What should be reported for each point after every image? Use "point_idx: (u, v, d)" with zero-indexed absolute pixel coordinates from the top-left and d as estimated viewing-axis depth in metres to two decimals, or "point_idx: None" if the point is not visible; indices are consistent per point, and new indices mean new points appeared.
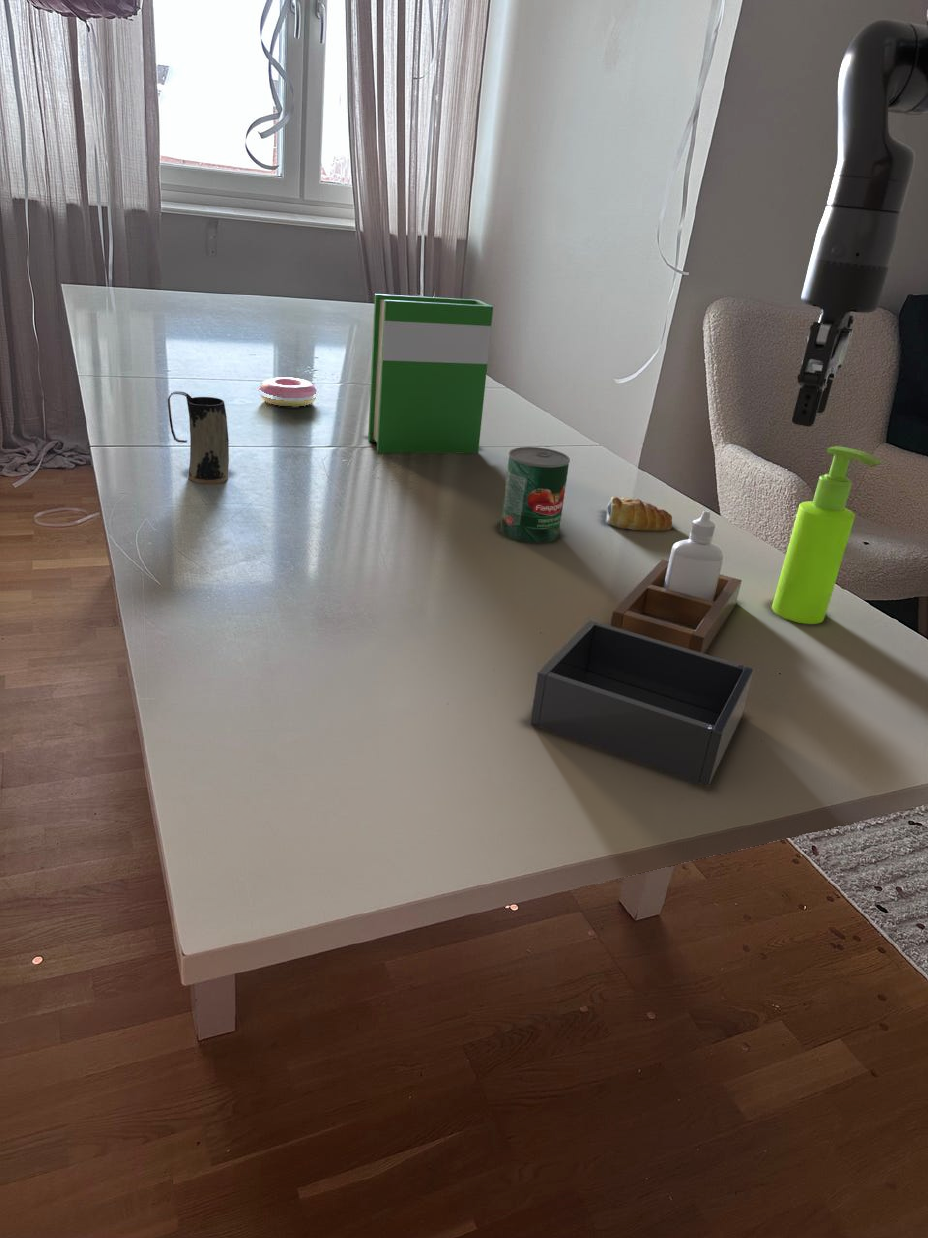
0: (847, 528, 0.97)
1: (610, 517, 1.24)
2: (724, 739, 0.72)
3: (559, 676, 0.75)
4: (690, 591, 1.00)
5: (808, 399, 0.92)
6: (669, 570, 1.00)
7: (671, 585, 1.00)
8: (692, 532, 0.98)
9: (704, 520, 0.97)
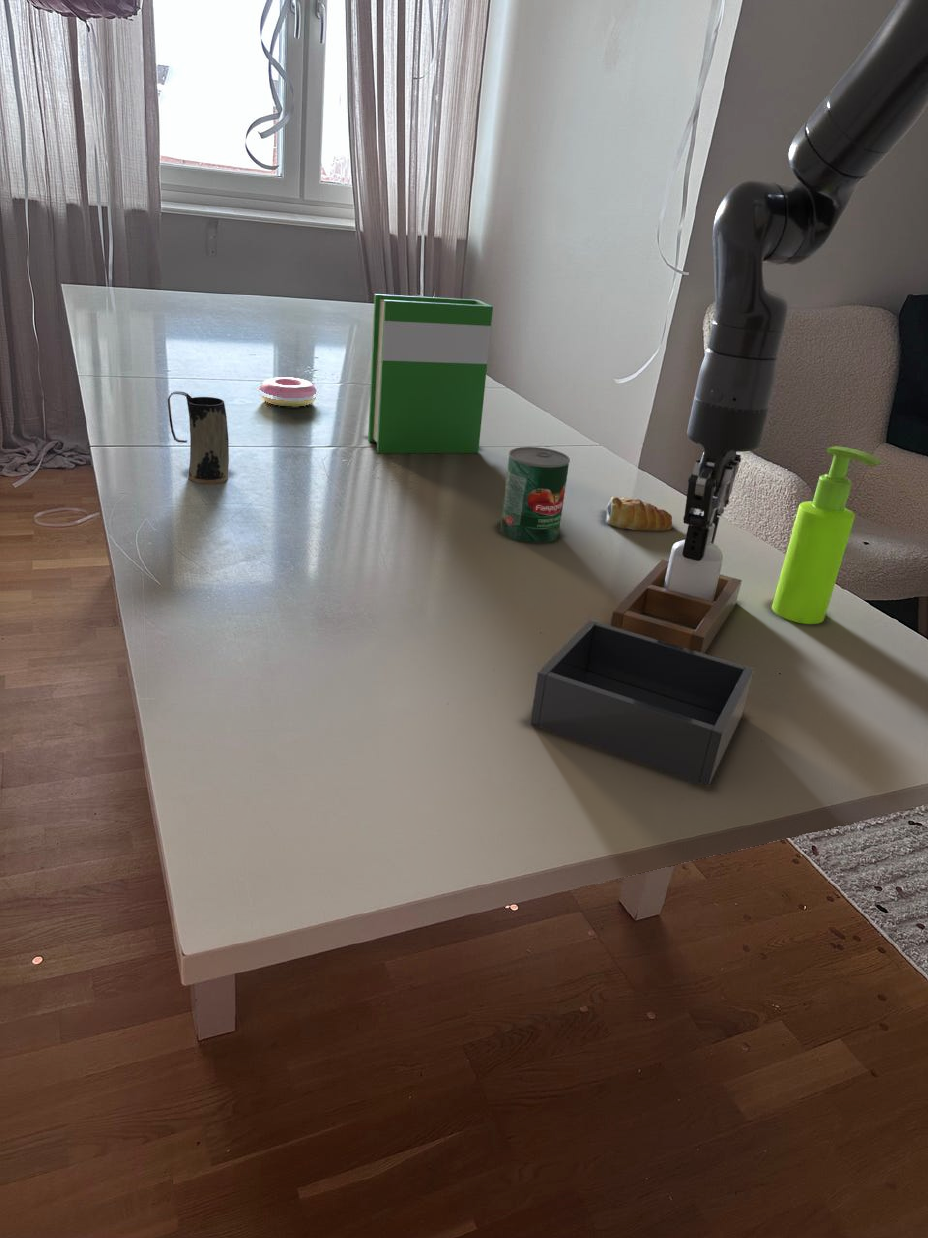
0: (847, 528, 0.97)
1: (610, 517, 1.24)
2: (724, 739, 0.72)
3: (559, 676, 0.75)
4: (690, 592, 1.00)
5: (696, 537, 0.96)
6: (669, 570, 1.00)
7: (671, 585, 1.00)
8: None
9: None
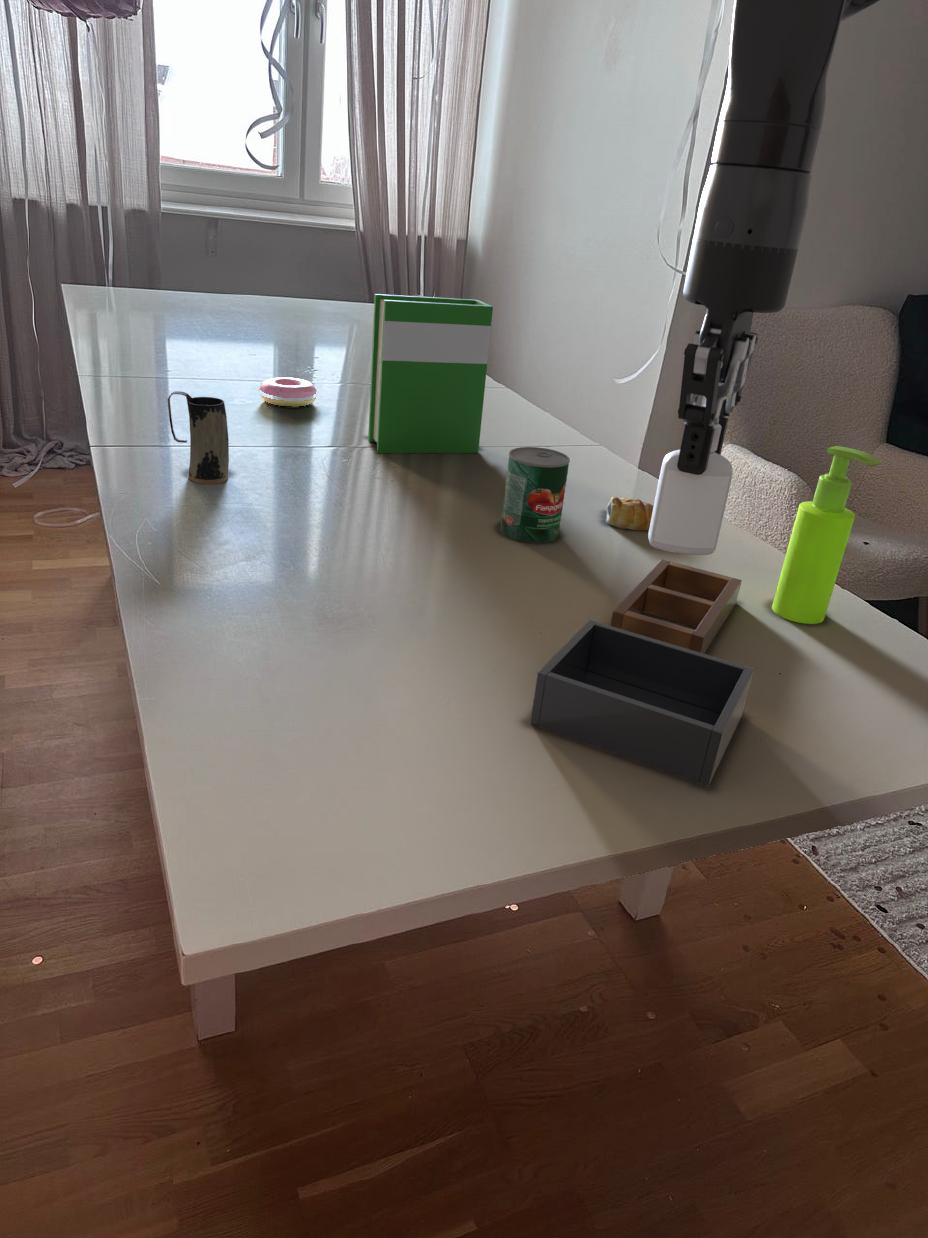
0: (847, 528, 0.97)
1: (610, 517, 1.24)
2: (724, 739, 0.72)
3: (559, 676, 0.75)
4: (687, 520, 0.73)
5: (696, 440, 0.69)
6: (659, 491, 0.73)
7: (662, 512, 0.74)
8: None
9: None
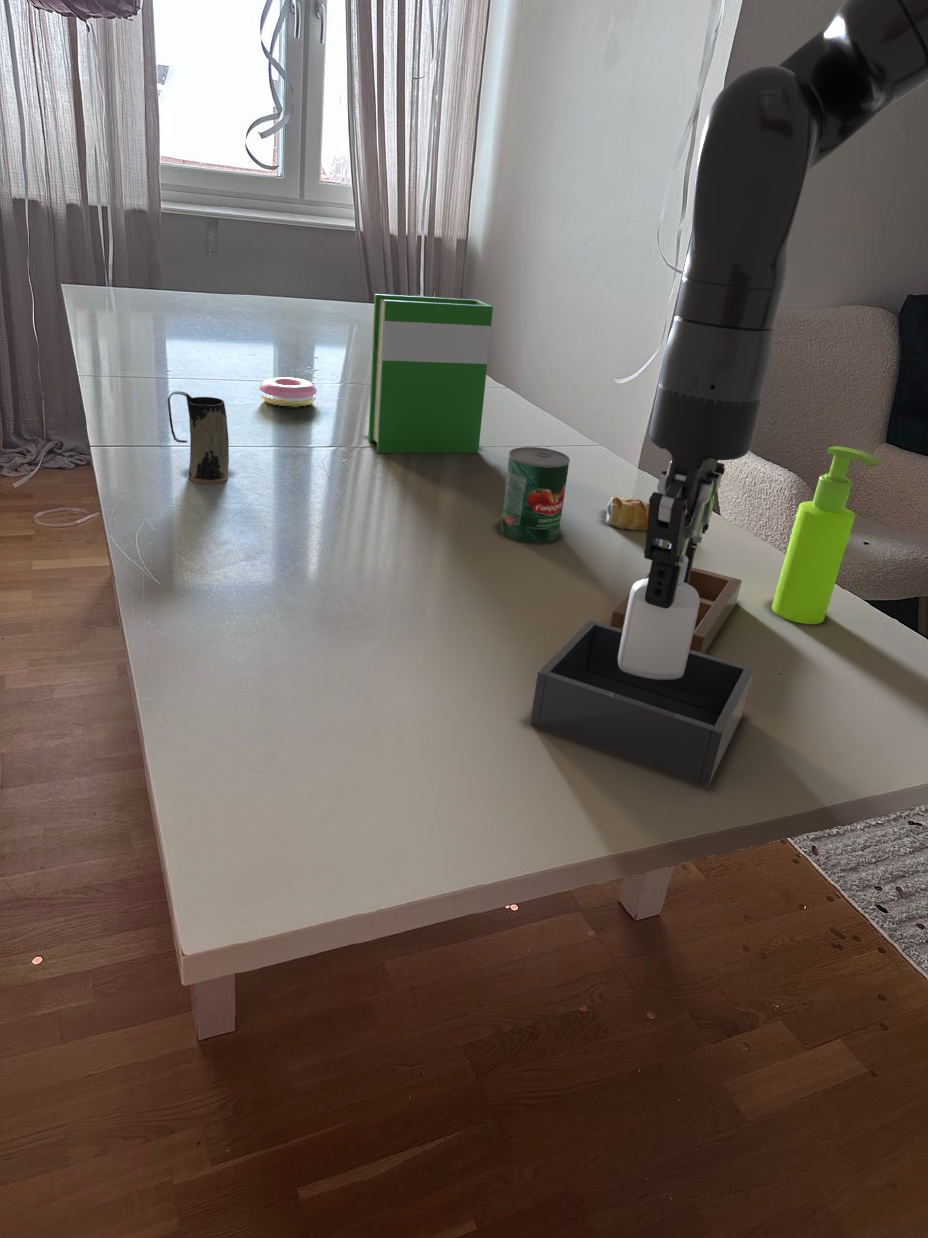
0: (847, 528, 0.97)
1: (610, 517, 1.24)
2: (724, 739, 0.72)
3: (559, 676, 0.75)
4: (655, 648, 0.74)
5: (662, 577, 0.70)
6: (627, 619, 0.74)
7: (630, 639, 0.74)
8: None
9: None
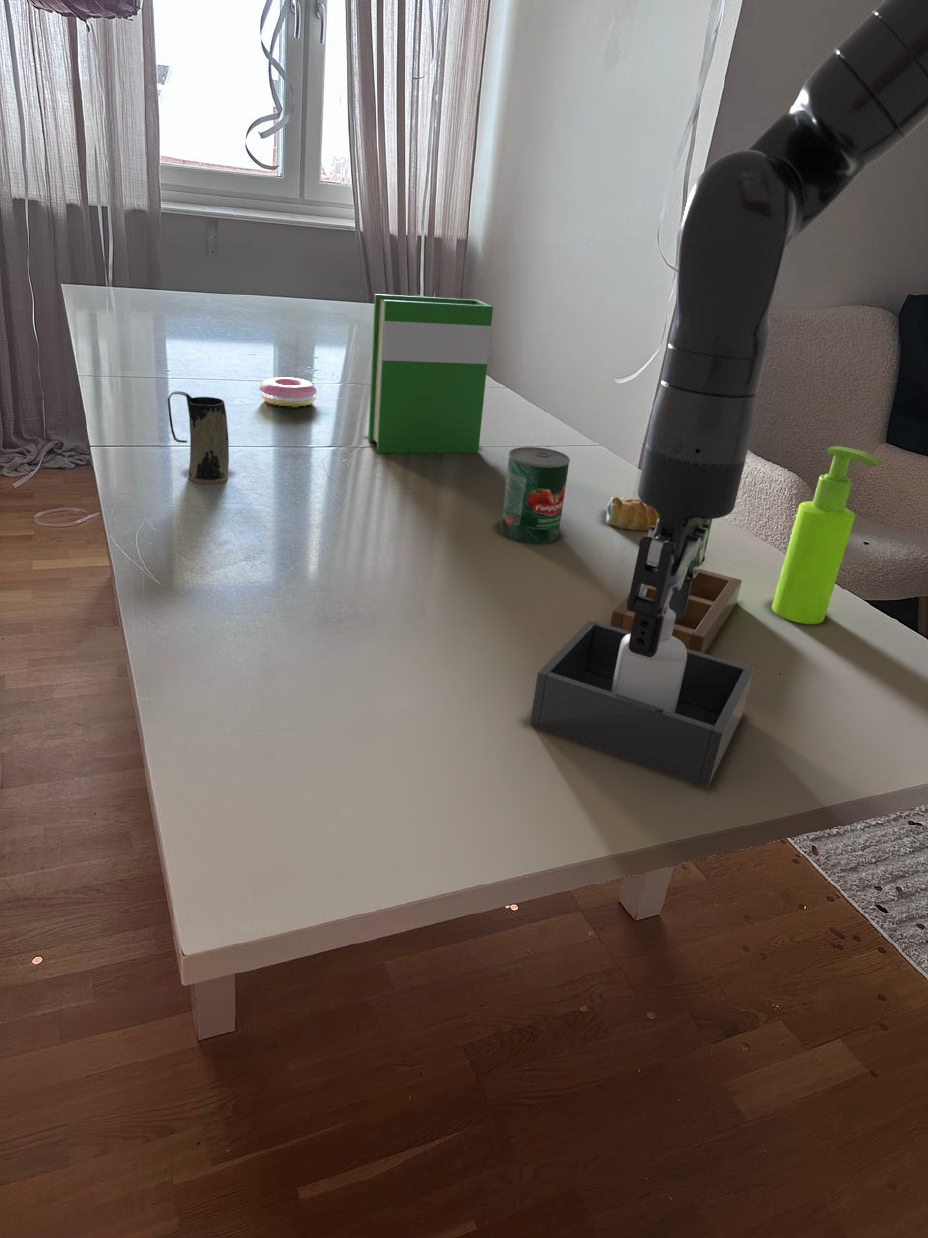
0: (847, 528, 0.97)
1: (610, 517, 1.24)
2: (724, 739, 0.72)
3: (559, 676, 0.75)
4: (644, 700, 0.76)
5: (645, 627, 0.70)
6: (617, 671, 0.77)
7: (620, 691, 0.77)
8: None
9: None
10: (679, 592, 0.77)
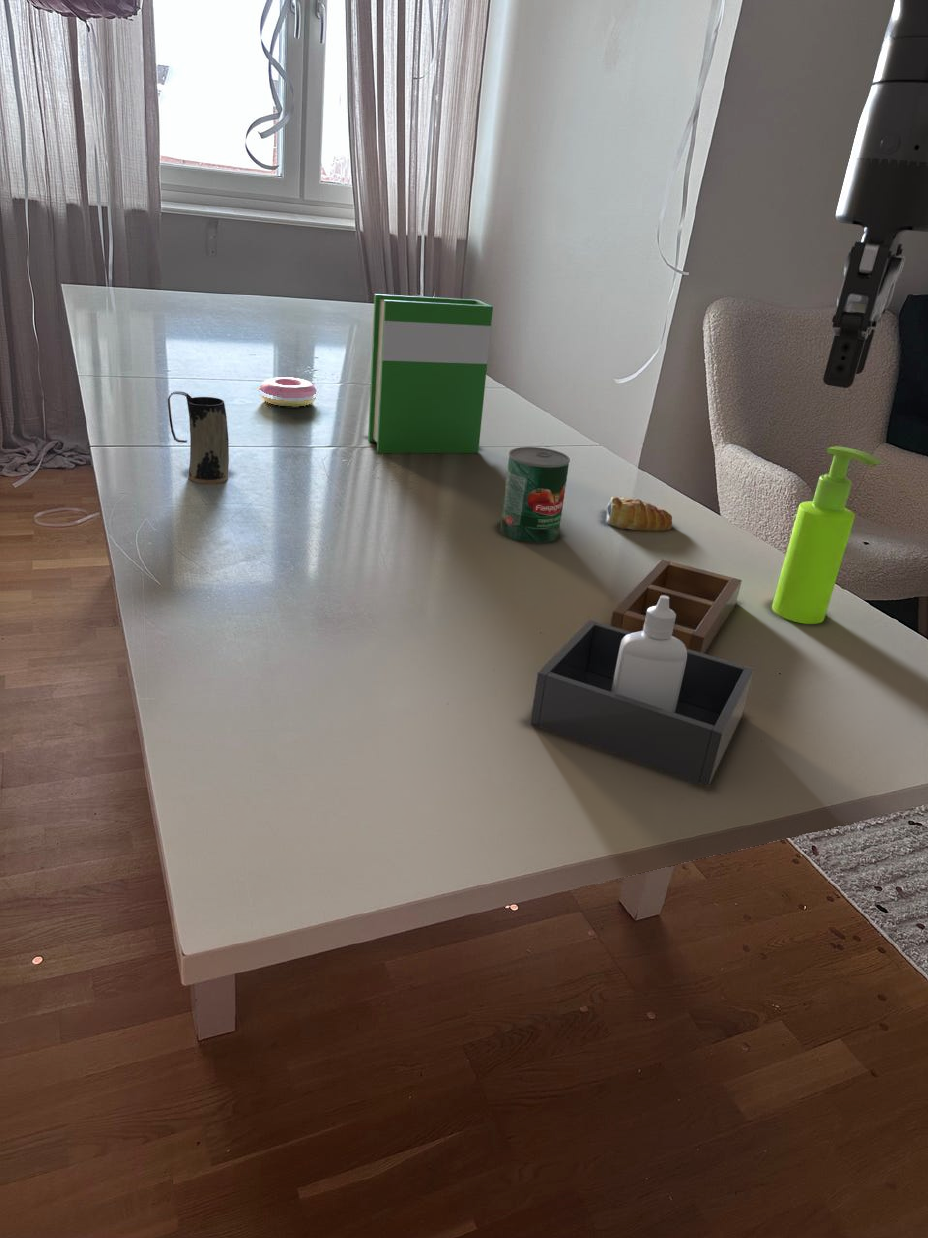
0: (847, 528, 0.97)
1: (610, 517, 1.24)
2: (724, 739, 0.72)
3: (559, 676, 0.75)
4: (644, 700, 0.76)
5: (846, 351, 0.68)
6: (617, 671, 0.77)
7: (620, 691, 0.77)
8: (646, 624, 0.75)
9: (661, 609, 0.74)
10: None
